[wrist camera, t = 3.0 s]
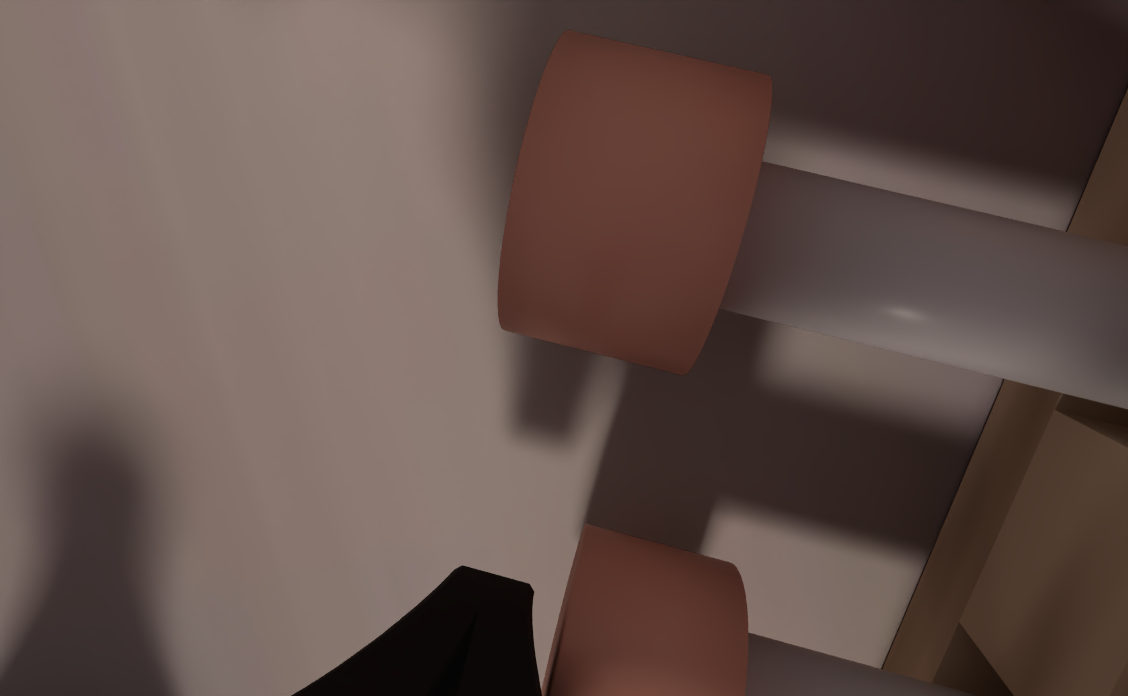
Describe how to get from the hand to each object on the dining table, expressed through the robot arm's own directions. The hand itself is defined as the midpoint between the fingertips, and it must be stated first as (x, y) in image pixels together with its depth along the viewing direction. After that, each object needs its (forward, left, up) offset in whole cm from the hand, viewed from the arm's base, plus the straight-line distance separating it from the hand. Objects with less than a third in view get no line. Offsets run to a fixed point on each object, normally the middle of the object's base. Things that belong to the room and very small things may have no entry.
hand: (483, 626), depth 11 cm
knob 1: (-4, -7, -2) cm, 8 cm away
